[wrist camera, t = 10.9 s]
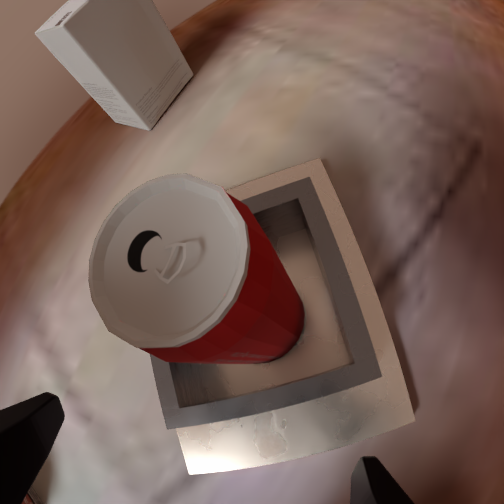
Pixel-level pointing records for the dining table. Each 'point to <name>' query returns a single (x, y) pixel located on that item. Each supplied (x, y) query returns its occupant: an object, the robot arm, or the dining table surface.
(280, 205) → the cup bracket
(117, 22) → the skincare box
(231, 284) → the soda can
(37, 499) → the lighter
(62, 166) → the dining table surface
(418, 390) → the dining table surface
